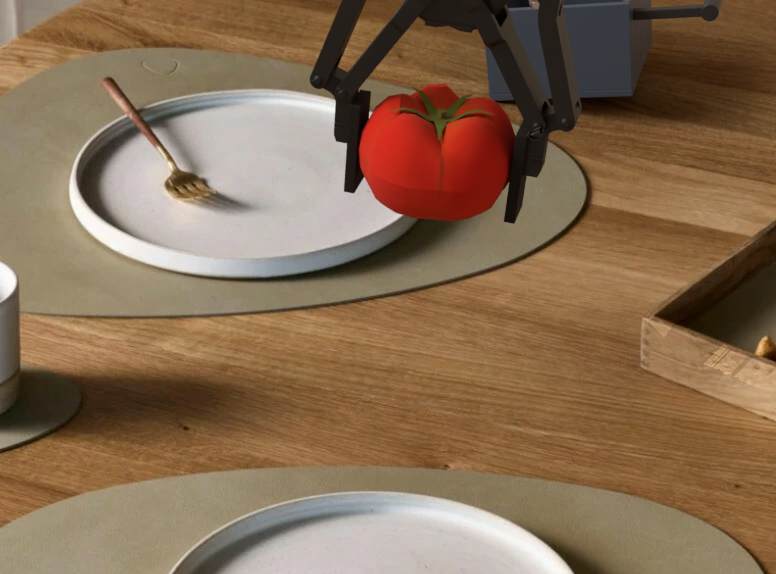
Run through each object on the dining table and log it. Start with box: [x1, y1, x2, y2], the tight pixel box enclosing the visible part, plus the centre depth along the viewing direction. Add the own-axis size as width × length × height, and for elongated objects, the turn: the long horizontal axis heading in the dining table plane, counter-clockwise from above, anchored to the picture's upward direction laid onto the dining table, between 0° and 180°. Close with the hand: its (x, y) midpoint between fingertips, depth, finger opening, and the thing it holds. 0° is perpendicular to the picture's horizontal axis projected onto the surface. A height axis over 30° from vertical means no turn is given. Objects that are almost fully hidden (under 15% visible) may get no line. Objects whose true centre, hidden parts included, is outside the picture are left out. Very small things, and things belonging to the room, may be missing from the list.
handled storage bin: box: [484, 0, 724, 102], centre depth 150 cm, size 22×14×9 cm, turn 71°
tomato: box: [358, 83, 516, 222], centre depth 105 cm, size 11×11×8 cm
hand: (432, 198), depth 107 cm, fingers closed on tomato, 11 cm apart
